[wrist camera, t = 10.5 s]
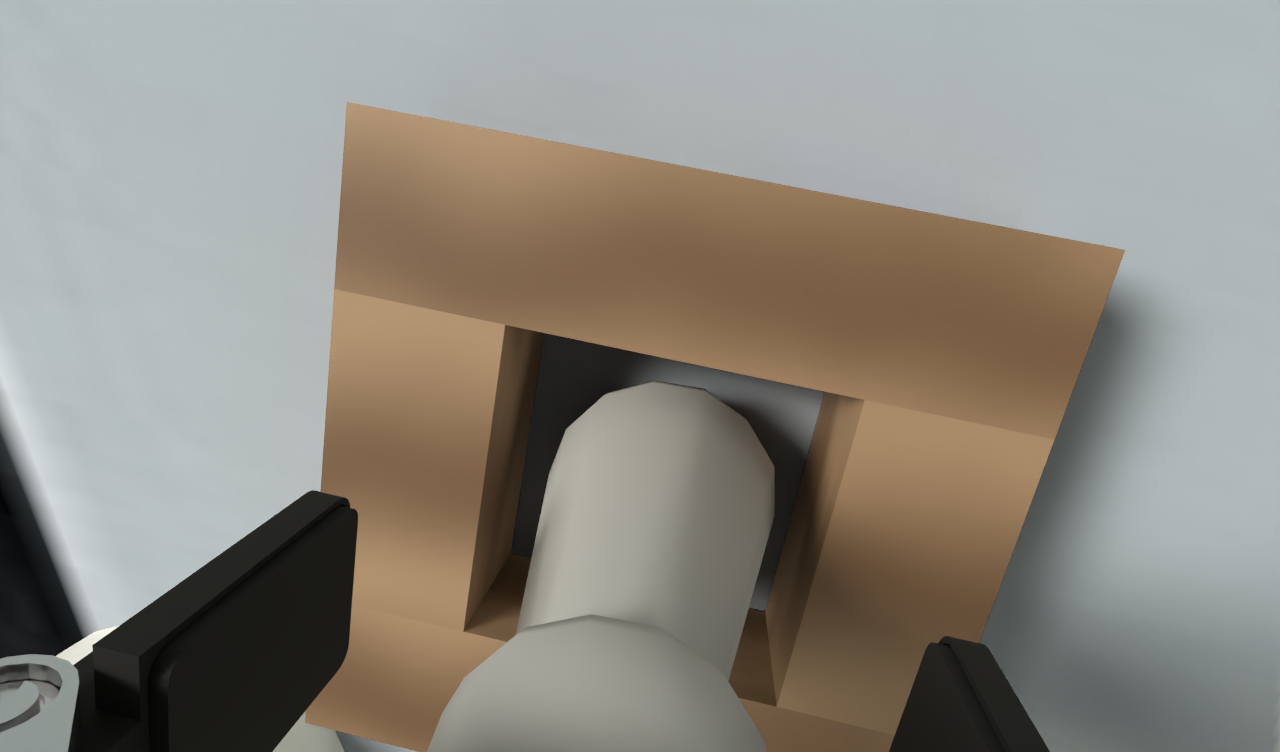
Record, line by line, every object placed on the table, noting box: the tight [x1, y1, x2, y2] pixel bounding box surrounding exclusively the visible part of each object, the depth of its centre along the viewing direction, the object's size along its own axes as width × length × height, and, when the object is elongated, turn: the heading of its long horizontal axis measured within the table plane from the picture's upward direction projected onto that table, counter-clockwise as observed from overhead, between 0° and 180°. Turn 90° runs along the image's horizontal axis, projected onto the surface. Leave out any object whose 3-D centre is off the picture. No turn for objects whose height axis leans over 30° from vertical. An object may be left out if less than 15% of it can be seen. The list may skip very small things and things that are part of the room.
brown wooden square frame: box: [305, 102, 1125, 752], centre depth 17 cm, size 16×16×4 cm
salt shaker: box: [427, 381, 775, 752], centre depth 13 cm, size 6×6×13 cm
